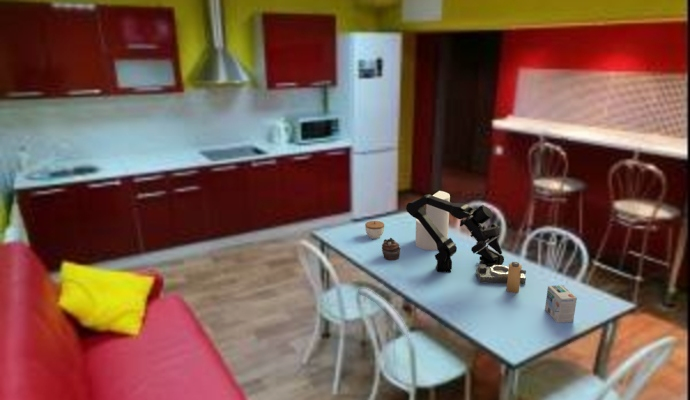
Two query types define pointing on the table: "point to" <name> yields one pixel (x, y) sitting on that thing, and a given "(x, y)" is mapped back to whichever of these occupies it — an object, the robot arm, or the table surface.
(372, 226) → the lidded jar
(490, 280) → the motor base
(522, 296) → the table surface
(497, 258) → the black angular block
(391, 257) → the cupcake
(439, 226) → the cylinder
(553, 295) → the light bulb box
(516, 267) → the tan bottle
